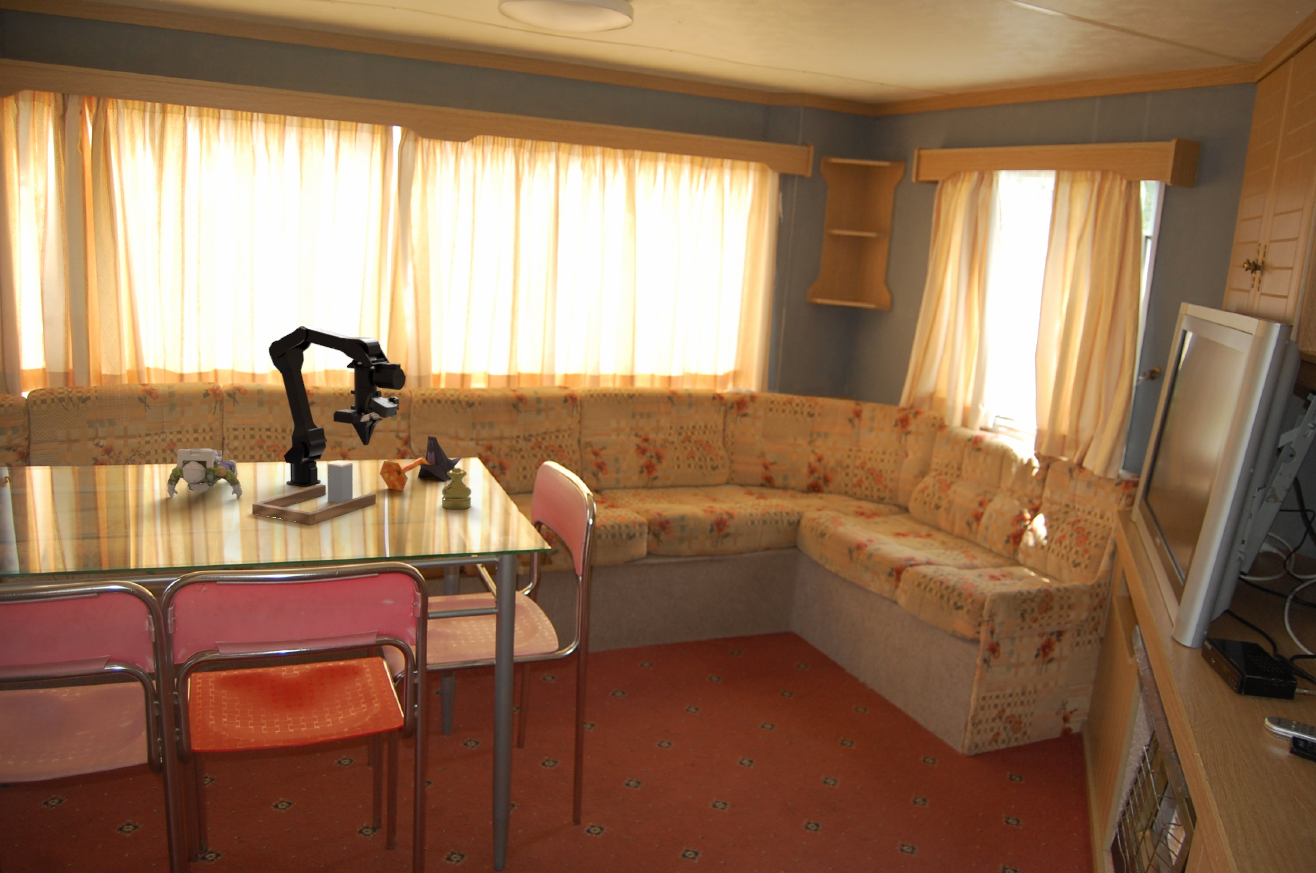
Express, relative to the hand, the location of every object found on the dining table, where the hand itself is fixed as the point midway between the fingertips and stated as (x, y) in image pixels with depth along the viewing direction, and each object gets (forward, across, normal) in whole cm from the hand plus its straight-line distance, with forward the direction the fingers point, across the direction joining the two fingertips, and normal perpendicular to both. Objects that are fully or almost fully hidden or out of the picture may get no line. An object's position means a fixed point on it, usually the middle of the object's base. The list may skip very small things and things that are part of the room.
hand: (365, 445), depth 243 cm
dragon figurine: (+13, +19, -5) cm, 23 cm away
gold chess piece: (+13, +2, -27) cm, 30 cm away
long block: (+13, -10, 0) cm, 16 cm away
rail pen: (+13, -18, 0) cm, 22 cm away
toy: (+13, -22, +31) cm, 41 cm away
